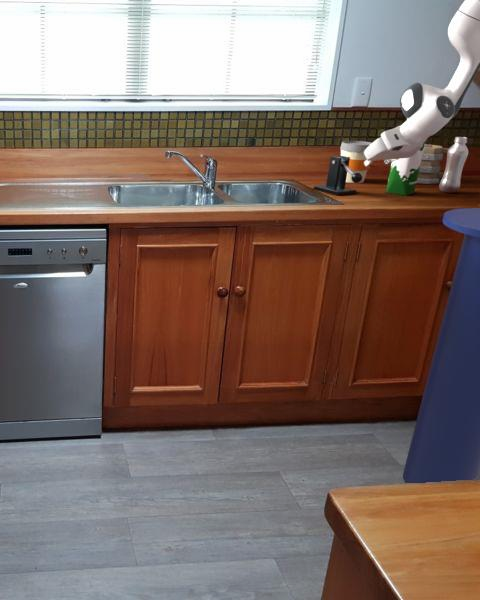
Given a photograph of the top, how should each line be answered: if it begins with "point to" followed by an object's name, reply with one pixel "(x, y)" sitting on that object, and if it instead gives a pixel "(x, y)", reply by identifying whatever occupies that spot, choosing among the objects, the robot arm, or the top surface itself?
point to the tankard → (431, 164)
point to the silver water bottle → (454, 166)
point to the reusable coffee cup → (355, 157)
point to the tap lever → (351, 172)
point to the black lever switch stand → (336, 178)
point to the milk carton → (405, 174)
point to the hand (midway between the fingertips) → (376, 163)
